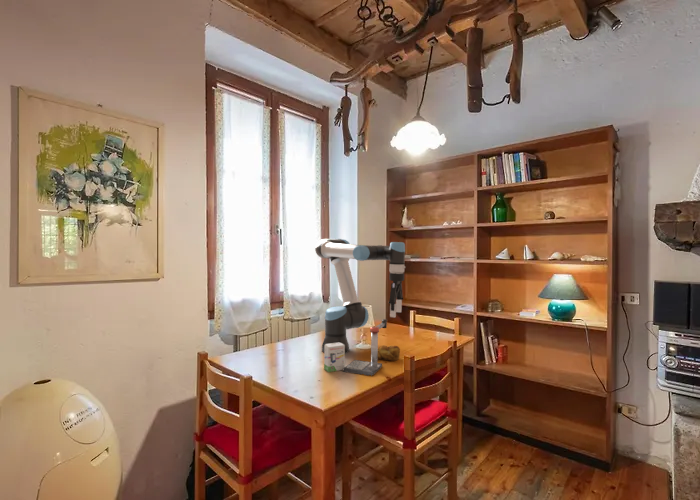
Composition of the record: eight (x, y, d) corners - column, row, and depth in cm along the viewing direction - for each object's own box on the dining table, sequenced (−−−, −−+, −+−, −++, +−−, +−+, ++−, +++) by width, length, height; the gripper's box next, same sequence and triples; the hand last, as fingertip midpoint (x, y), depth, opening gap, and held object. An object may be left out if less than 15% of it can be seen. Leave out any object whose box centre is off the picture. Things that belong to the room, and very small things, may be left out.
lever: (369, 334, 170) (369, 325, 170) (381, 326, 187) (381, 318, 187) (377, 335, 169) (377, 326, 169) (388, 327, 185) (388, 319, 185)
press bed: (343, 371, 170) (343, 332, 170) (354, 362, 183) (355, 326, 183) (373, 376, 164) (374, 336, 164) (383, 366, 177) (383, 329, 177)
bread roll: (373, 360, 187) (373, 344, 187) (376, 355, 196) (377, 340, 196) (399, 363, 184) (399, 346, 183) (401, 357, 193) (401, 342, 193)
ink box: (340, 366, 177) (340, 341, 177) (345, 369, 173) (345, 344, 173) (323, 369, 173) (323, 343, 173) (328, 372, 169) (328, 346, 169)
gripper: (398, 275, 175) (397, 320, 175) (408, 271, 198) (407, 310, 199) (383, 274, 177) (382, 318, 178) (395, 270, 201) (394, 309, 201)
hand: (395, 314), depth 188 cm, fingers open, 13 cm apart
